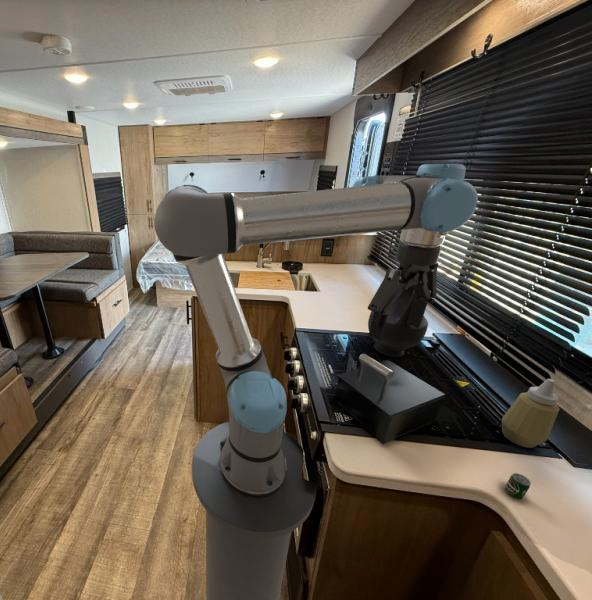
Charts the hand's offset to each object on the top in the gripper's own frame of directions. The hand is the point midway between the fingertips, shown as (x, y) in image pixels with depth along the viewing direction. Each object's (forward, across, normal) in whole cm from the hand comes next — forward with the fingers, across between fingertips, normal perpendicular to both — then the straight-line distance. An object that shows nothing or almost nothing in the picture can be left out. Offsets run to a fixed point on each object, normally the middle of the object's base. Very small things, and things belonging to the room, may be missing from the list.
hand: (394, 331), depth 73 cm
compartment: (+26, +4, 0) cm, 27 cm away
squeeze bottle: (+26, +26, -21) cm, 43 cm away
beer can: (+27, +8, -27) cm, 39 cm away
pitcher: (+26, +33, +18) cm, 46 cm away
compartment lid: (+18, +3, 0) cm, 18 cm away
